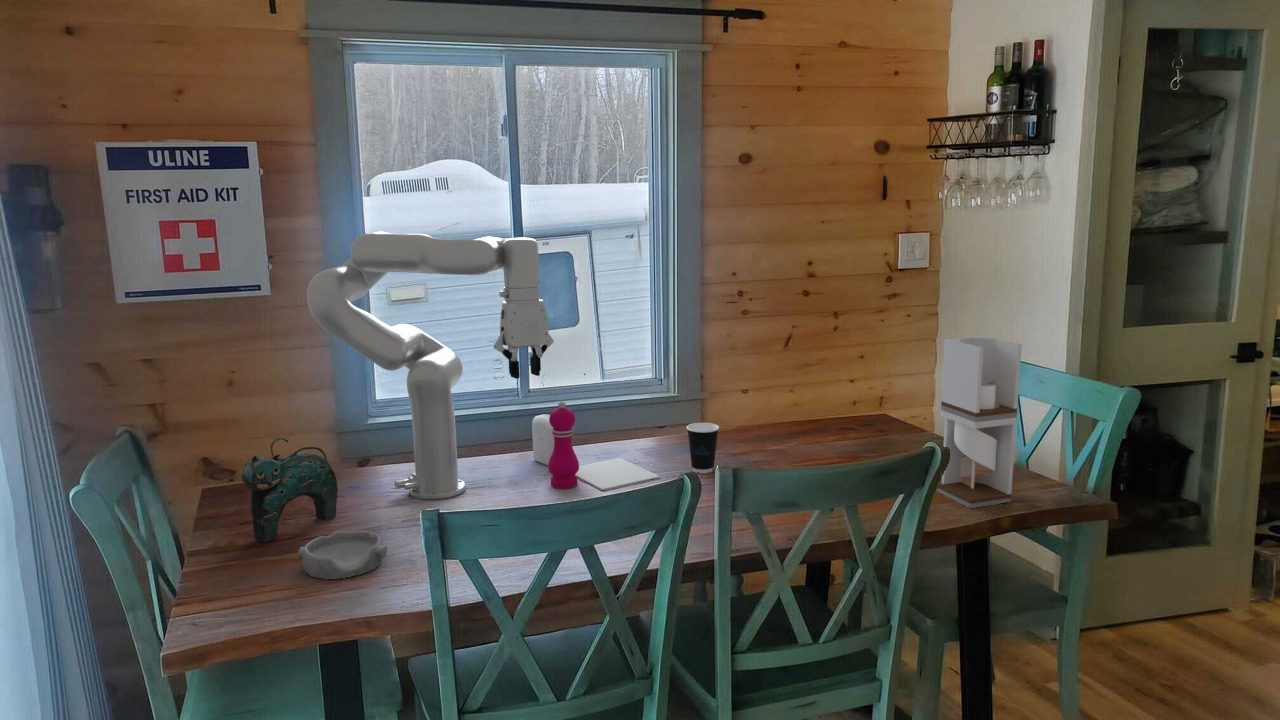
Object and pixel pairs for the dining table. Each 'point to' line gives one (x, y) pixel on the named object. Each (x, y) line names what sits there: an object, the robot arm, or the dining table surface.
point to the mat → (613, 474)
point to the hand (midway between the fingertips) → (525, 375)
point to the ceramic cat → (288, 487)
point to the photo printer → (542, 439)
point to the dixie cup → (702, 446)
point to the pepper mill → (563, 449)
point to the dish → (342, 554)
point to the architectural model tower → (979, 418)
